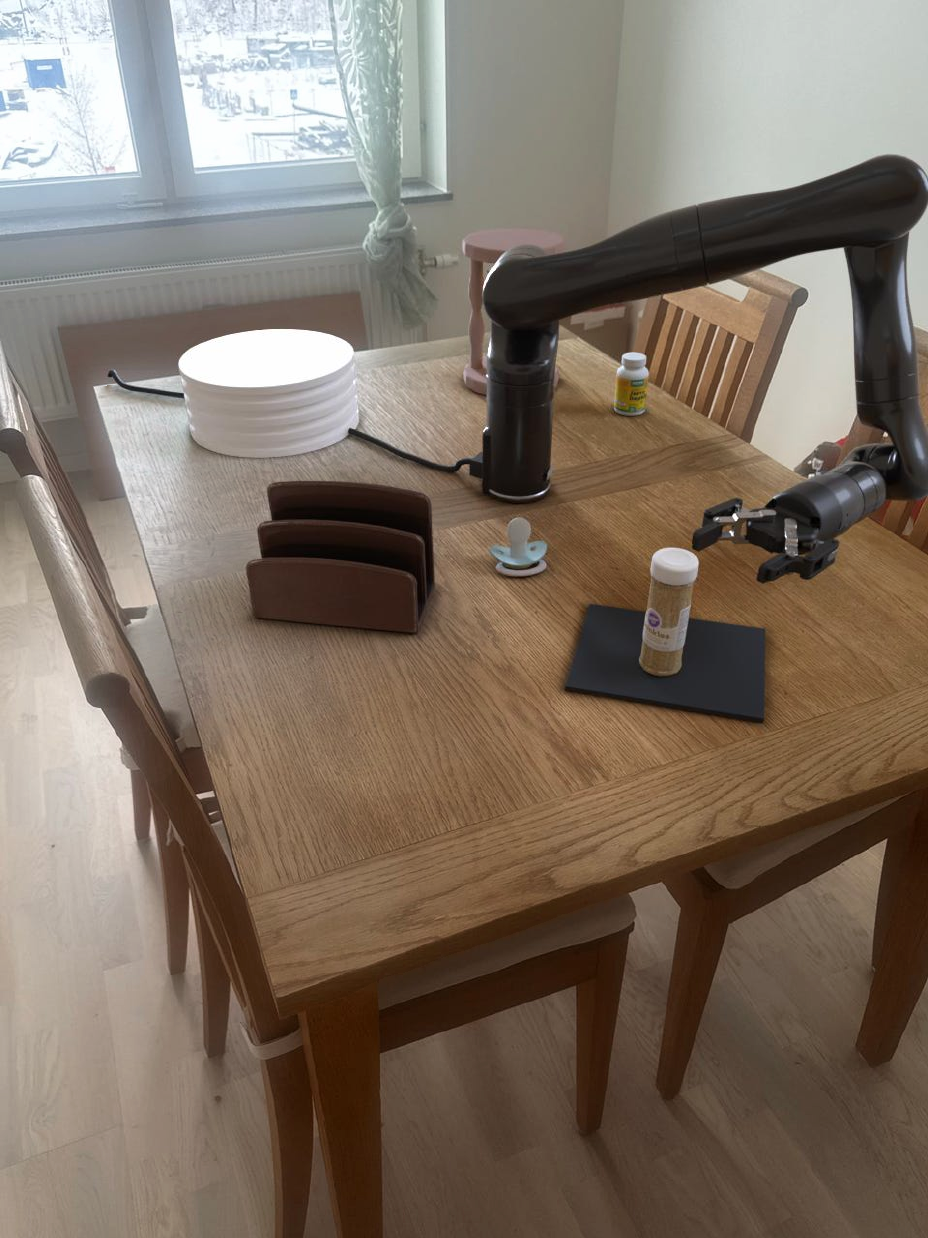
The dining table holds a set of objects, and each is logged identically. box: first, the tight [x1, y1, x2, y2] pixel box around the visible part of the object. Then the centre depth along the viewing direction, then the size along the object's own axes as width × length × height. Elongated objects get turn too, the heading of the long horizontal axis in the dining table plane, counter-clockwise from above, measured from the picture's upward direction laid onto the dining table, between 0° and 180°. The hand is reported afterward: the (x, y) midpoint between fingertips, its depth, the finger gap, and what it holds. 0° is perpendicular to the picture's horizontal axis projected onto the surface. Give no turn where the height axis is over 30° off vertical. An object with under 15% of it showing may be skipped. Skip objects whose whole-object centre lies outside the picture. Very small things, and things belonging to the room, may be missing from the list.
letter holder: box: [245, 480, 436, 635], centre depth 106 cm, size 10×20×14 cm, turn 80°
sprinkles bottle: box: [639, 547, 700, 676], centre depth 94 cm, size 5×5×14 cm
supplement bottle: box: [613, 351, 650, 417], centre depth 156 cm, size 5×5×10 cm
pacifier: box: [488, 517, 548, 577], centre depth 115 cm, size 7×6×6 cm
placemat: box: [564, 603, 766, 724], centre depth 100 cm, size 20×16×1 cm
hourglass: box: [462, 227, 567, 396], centre depth 163 cm, size 18×18×25 cm
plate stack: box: [177, 328, 360, 459], centre depth 152 cm, size 28×28×12 cm
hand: (727, 558), depth 98 cm, fingers open, 8 cm apart
